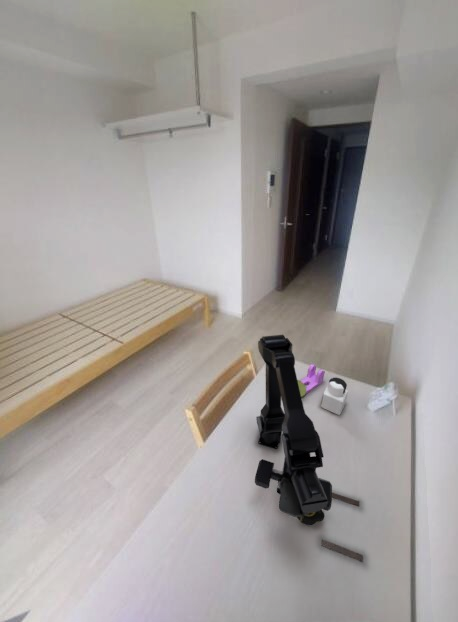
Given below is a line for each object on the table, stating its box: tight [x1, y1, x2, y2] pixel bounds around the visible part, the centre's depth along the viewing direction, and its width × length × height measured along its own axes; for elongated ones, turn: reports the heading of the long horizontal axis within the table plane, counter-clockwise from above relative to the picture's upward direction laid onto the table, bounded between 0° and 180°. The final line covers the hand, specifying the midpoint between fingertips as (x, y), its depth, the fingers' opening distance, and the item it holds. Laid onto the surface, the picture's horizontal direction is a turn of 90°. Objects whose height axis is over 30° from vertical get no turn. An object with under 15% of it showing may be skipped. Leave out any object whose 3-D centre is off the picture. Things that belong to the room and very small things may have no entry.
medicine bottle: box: [320, 377, 349, 416], centre depth 101 cm, size 7×7×12 cm
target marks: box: [321, 492, 364, 562], centre depth 69 cm, size 9×13×1 cm
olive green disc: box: [297, 379, 307, 398], centre depth 110 cm, size 11×11×2 cm
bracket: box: [300, 363, 325, 395], centre depth 111 cm, size 13×6×7 cm, turn 128°
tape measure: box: [296, 509, 326, 527], centre depth 71 cm, size 7×7×4 cm
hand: (289, 500), depth 73 cm, fingers closed
